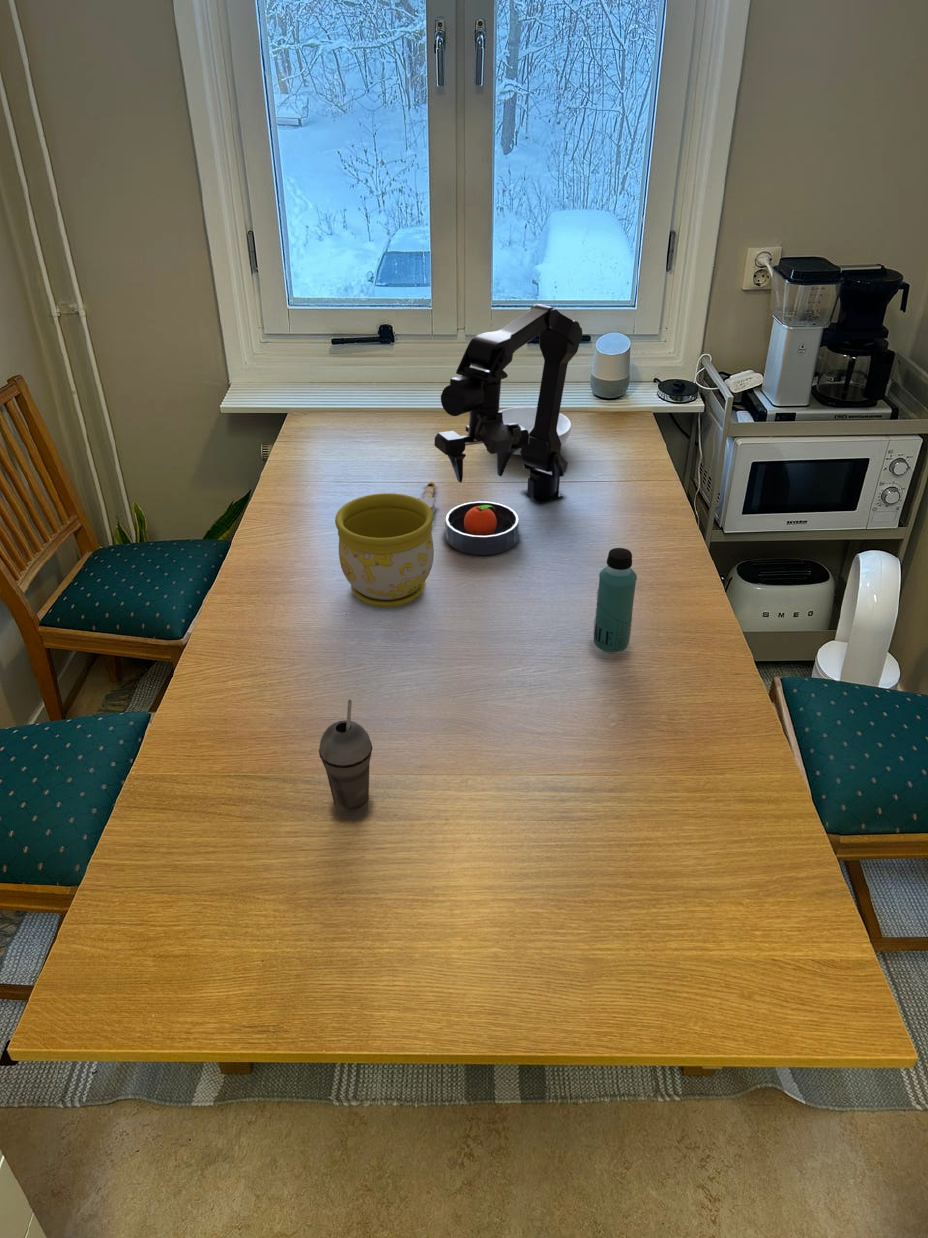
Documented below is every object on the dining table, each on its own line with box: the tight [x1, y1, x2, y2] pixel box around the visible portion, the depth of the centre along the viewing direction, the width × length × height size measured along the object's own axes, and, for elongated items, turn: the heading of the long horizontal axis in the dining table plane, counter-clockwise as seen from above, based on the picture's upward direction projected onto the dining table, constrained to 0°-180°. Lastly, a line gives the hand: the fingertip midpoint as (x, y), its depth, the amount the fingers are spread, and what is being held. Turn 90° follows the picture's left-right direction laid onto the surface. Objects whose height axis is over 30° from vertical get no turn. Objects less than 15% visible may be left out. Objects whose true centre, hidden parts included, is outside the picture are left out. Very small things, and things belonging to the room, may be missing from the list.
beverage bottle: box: [592, 547, 638, 654], centre depth 156 cm, size 6×7×20 cm
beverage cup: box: [318, 699, 373, 821], centre depth 126 cm, size 7×7×20 cm
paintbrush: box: [417, 481, 436, 514], centre depth 204 cm, size 4×3×20 cm
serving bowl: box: [499, 406, 572, 456], centre depth 229 cm, size 21×21×7 cm
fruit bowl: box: [444, 500, 520, 556], centre depth 193 cm, size 15×15×4 cm
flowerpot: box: [334, 492, 435, 609], centre depth 173 cm, size 18×18×16 cm
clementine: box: [464, 505, 497, 536], centre depth 192 cm, size 8×7×7 cm
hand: (480, 478), depth 187 cm, fingers open, 9 cm apart
